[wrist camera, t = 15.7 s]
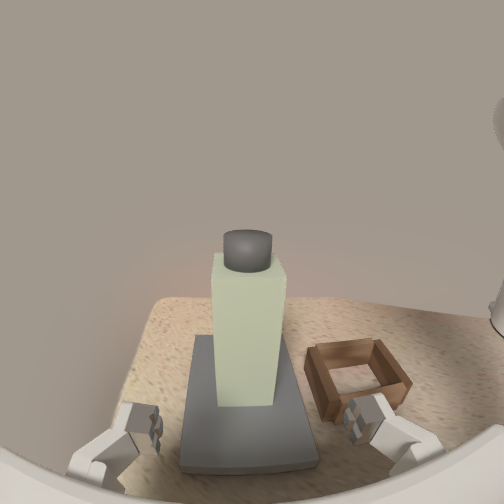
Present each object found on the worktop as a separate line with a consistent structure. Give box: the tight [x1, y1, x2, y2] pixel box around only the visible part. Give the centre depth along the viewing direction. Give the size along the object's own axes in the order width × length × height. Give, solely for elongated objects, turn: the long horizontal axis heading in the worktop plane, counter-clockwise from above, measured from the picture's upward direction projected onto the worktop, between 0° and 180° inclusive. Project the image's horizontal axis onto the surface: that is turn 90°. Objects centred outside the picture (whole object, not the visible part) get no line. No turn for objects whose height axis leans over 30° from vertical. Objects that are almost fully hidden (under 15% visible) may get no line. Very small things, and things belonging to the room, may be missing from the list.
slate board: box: [179, 334, 319, 475], centre depth 23 cm, size 10×17×2 cm, turn 5°
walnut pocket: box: [304, 338, 413, 424], centre depth 24 cm, size 9×9×3 cm
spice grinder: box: [211, 230, 287, 407], centre depth 20 cm, size 5×5×14 cm
